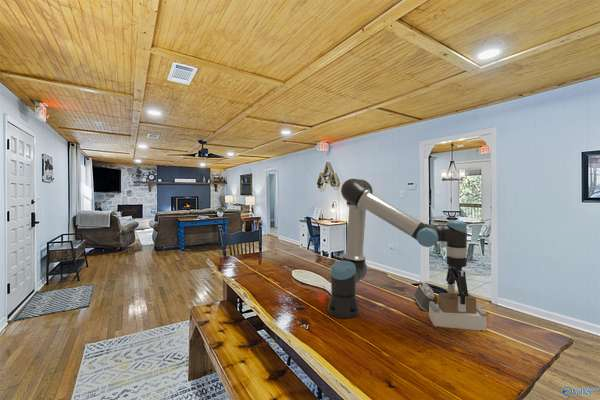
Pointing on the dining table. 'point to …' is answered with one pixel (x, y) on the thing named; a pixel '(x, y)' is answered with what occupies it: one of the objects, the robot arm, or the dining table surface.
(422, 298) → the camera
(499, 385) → the dining table surface
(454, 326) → the stand
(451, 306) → the case
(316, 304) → the dining table surface
